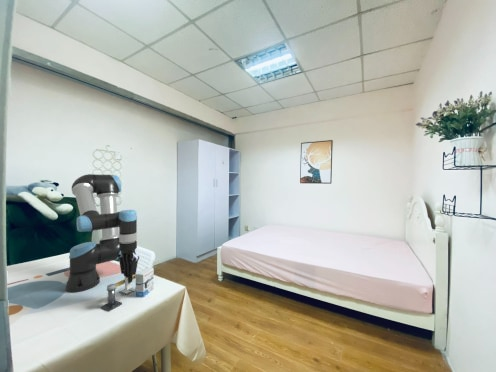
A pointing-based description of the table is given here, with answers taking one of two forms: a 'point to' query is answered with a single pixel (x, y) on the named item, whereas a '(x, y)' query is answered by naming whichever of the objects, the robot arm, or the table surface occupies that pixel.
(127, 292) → the label tile
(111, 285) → the swing arm
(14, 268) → the table surface
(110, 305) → the grey square fixture
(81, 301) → the table surface
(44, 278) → the table surface
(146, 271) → the ink box
